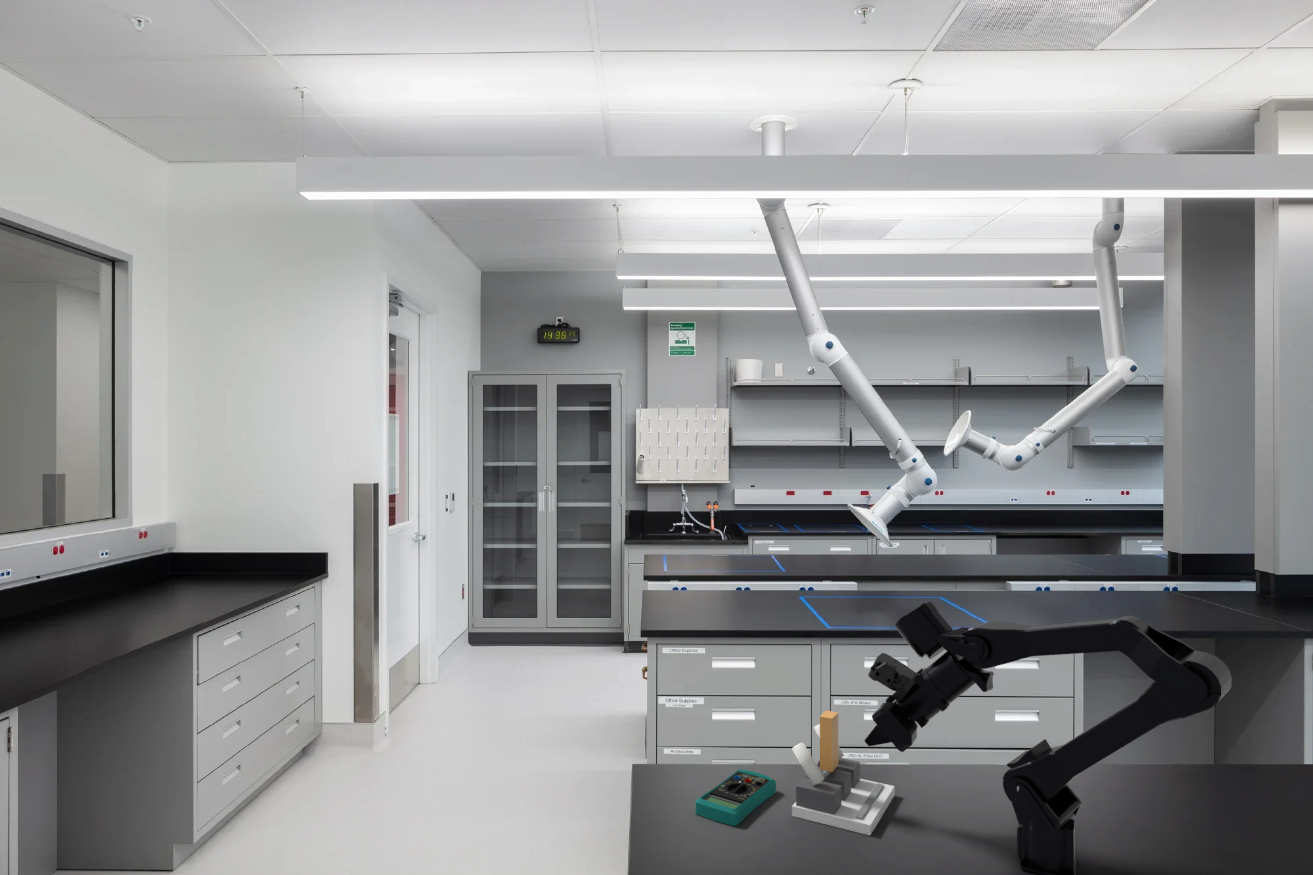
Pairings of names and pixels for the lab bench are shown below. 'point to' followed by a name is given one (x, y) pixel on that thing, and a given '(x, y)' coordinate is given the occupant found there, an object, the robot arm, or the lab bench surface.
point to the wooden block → (828, 742)
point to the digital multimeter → (735, 797)
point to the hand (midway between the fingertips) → (867, 742)
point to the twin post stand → (839, 794)
